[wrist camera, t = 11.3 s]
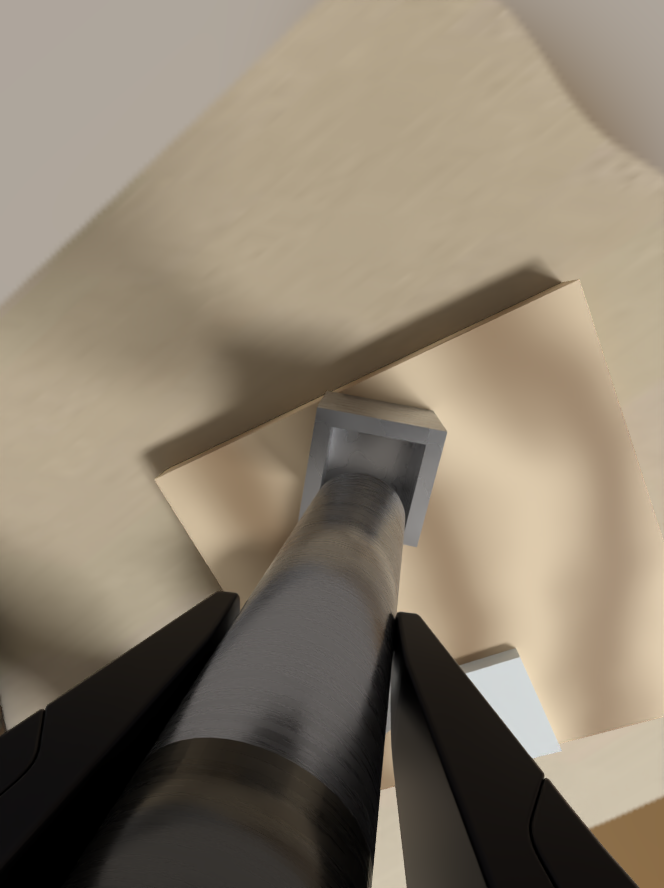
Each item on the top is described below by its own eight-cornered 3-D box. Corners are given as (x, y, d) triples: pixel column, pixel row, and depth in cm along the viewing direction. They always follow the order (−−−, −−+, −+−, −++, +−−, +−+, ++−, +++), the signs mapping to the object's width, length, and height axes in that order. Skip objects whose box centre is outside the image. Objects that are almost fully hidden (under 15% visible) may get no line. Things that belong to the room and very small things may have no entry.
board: (352, 771, 27) (351, 797, 25) (168, 468, 22) (154, 479, 20) (694, 678, 23) (715, 703, 21) (562, 282, 18) (579, 279, 16)
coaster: (442, 769, 24) (444, 780, 23) (396, 684, 22) (397, 694, 22) (557, 740, 23) (561, 750, 22) (515, 647, 21) (519, 656, 21)
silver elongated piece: (383, 699, 23) (389, 843, 16) (255, 673, 23) (213, 805, 17) (461, 415, 18) (509, 467, 12) (299, 385, 18) (263, 420, 12)
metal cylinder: (409, 478, 12) (363, 1023, 3) (400, 566, 13) (337, 1238, 3) (314, 467, 13) (-22, 887, 3) (309, 551, 13) (31, 1099, 4)
